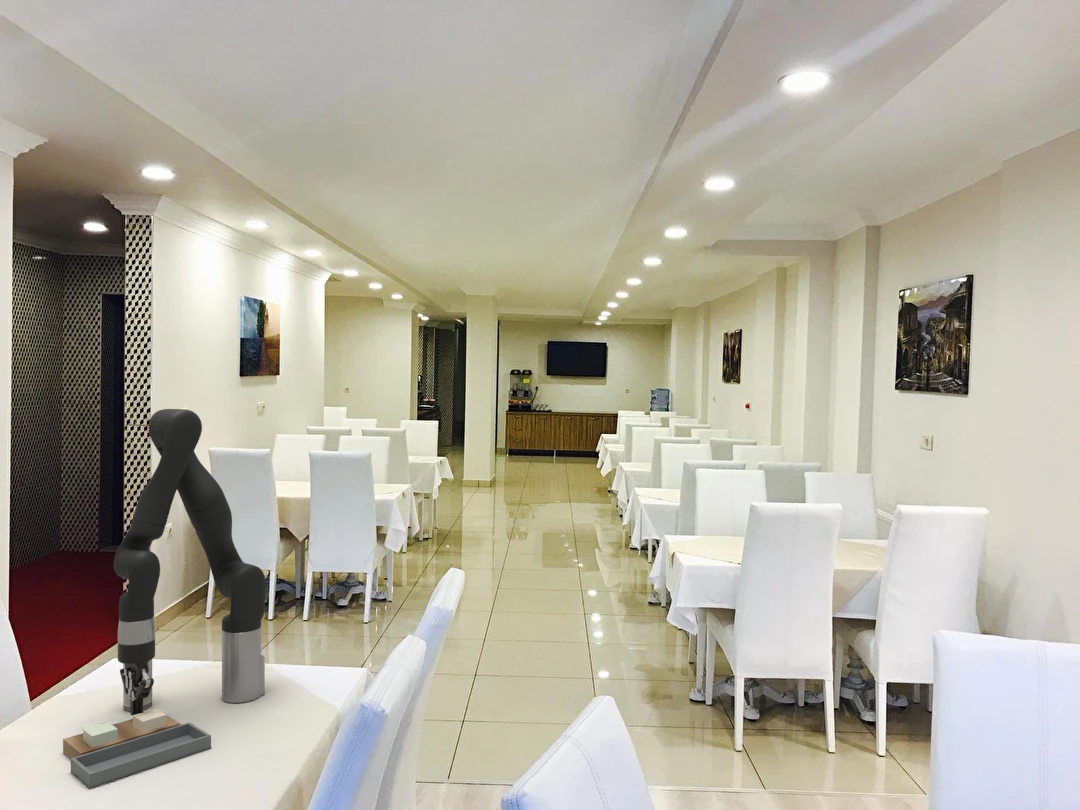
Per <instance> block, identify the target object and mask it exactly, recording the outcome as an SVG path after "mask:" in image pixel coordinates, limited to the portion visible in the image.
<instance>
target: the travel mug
mask: <svg viewBox="0 0 1080 810" xmlns="http://www.w3.org/2000/svg"><path fill="white" fill-rule="evenodd" d="M122 664H123V663H122ZM122 667H123V668H122V669H124V668H125V664H123V665H122ZM148 667H149V675H148V677H149V679H151V678H153V659H151V660H149V662H148ZM122 689H123V690H122V691H123V693H122V694H123V697H122V698H123V704H122V707H123V710H124V711H126V712H130V699H129V697H128V694H126V693H125V689H124V686H123V688H122ZM152 705H153V687H152V688H151V691H150V693H149V696H148V697H146V698H143V711H144V710H148V709H149V708H151V706H152Z"/></svg>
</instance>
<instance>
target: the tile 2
mask: <svg viewBox="0 0 1080 810" xmlns="http://www.w3.org/2000/svg"><path fill="white" fill-rule="evenodd" d="M166 716H167V714H166V713H164V712H163V711H161V710H160V709H157V708H154V709H150V710H147V711H143V713H139V714H136V715H133V716H132V719H133V727H135V728H136V729H138V730H139V731H141V732H142V733H143V732H147V731H150V730H153V729H157V728H160V727H163V726H166Z"/></svg>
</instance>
